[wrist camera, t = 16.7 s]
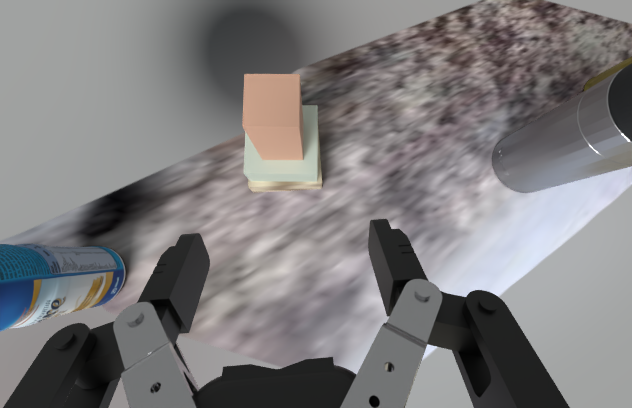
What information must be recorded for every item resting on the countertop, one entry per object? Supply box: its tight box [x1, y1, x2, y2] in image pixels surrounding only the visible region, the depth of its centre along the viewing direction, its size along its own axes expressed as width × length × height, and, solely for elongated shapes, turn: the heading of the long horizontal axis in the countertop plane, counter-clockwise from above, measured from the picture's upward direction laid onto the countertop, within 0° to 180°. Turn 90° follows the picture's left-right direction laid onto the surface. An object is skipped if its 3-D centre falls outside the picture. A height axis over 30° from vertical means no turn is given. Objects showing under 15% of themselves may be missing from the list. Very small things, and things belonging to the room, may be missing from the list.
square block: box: [243, 74, 303, 160], centre depth 30 cm, size 5×5×10 cm
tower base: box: [248, 129, 322, 193], centre depth 41 cm, size 10×10×4 cm
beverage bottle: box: [0, 244, 125, 331], centre depth 30 cm, size 8×8×20 cm
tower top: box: [244, 105, 318, 182], centre depth 37 cm, size 9×9×4 cm
